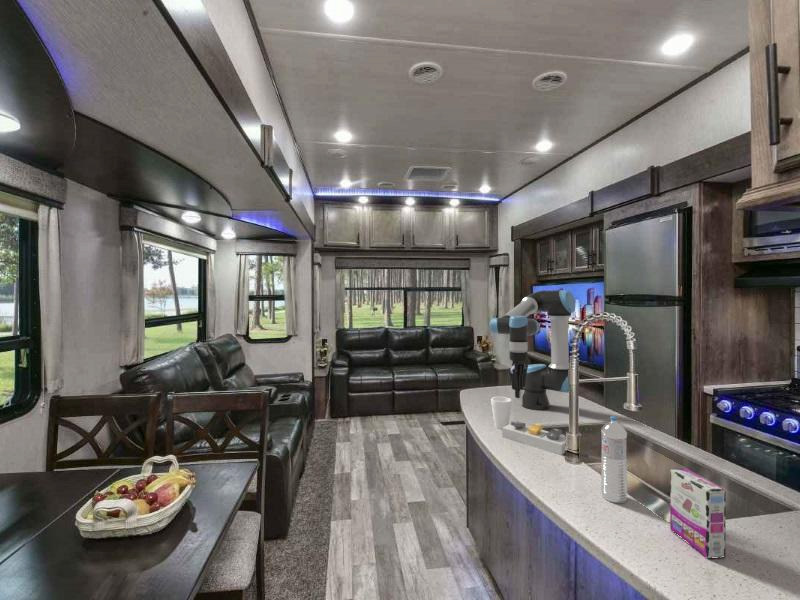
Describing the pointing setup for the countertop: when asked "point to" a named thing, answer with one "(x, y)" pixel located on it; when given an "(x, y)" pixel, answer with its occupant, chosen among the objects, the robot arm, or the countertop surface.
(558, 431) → the rocker
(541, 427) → the yellow sponge
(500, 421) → the foam cup
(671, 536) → the countertop surface
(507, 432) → the grey tray
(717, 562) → the countertop surface
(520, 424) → the rocker
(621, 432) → the water bottle
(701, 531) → the candy bar box
